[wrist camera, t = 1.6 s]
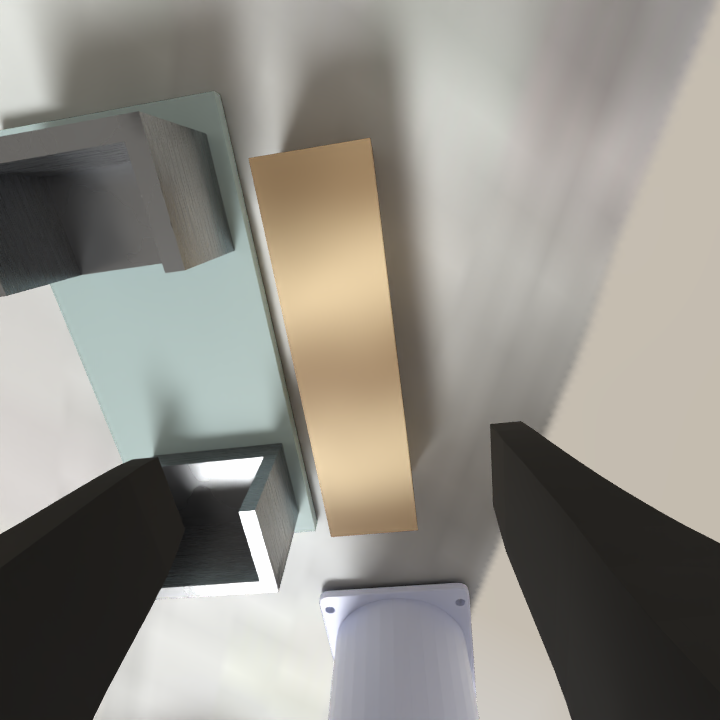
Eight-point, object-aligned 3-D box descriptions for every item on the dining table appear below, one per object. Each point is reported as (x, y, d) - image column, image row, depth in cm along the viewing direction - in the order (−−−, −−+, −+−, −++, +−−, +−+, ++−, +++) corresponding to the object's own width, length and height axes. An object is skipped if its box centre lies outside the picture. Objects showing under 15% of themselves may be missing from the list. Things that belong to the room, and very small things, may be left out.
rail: (411, 468, 20) (417, 530, 17) (339, 475, 21) (331, 537, 17) (372, 150, 15) (369, 137, 12) (279, 166, 16) (248, 158, 12)
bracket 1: (42, 162, 15) (-81, 151, 11) (206, 133, 15) (138, 111, 11) (84, 272, 17) (-12, 298, 13) (234, 250, 16) (185, 270, 12)
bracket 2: (298, 512, 21) (278, 592, 17) (178, 522, 21) (130, 601, 17) (281, 442, 19) (254, 510, 15) (153, 455, 20) (93, 523, 16)
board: (317, 522, 22) (315, 530, 21) (161, 534, 22) (156, 543, 22) (220, 94, 15) (213, 90, 14) (1, 134, 16) (-13, 132, 15)
